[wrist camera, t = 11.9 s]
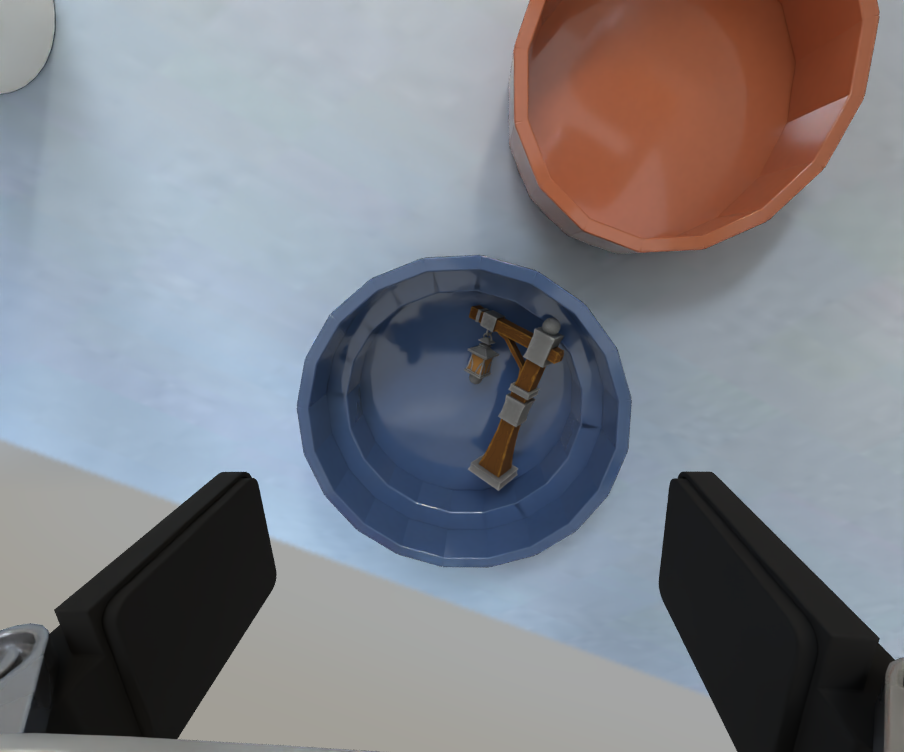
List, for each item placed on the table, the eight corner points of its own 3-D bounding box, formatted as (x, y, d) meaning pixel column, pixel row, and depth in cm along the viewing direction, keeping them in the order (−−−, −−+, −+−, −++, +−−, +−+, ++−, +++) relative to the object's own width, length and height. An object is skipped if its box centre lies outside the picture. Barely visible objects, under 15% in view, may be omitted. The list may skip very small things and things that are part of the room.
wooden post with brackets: (490, 285, 19) (582, 323, 17) (449, 430, 22) (521, 477, 20) (467, 287, 17) (565, 329, 15) (427, 441, 21) (502, 493, 19)
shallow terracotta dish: (828, -88, 15) (917, -178, 12) (777, 246, 18) (838, 243, 15) (506, -53, 16) (512, -128, 13) (509, 259, 19) (515, 258, 16)
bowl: (605, 249, 18) (643, 246, 14) (593, 508, 22) (620, 569, 18) (320, 263, 20) (273, 265, 15) (351, 508, 23) (320, 566, 19)
